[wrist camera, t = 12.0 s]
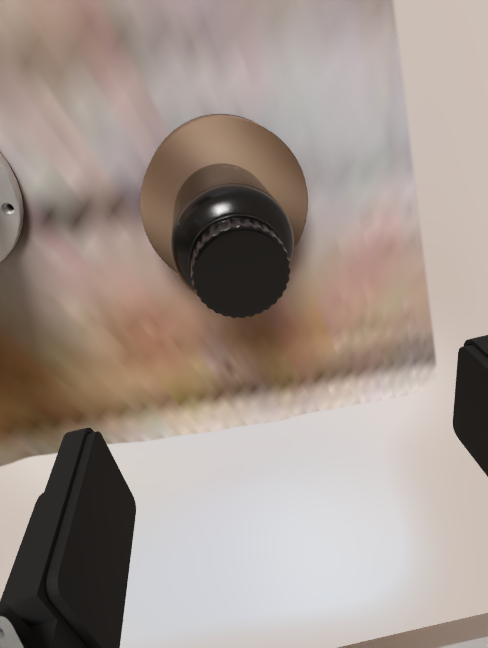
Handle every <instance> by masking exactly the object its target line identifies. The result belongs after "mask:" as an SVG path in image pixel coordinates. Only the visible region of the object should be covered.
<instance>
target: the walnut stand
mask: <svg viewBox="0 0 488 648" xmlns="http://www.w3.org/2000/svg"><path fill="white" fill-rule="evenodd" d="M219 163H226V164H232V165H236V166H239V167H241V168H244V169H245V170H247V171H249V172H250V173H251V174H253V175H254V176H255V177H256V178H257V179H258V180H259V181H260V182H261V183H262V184H263V186H264V187H265V188H266V189H267V190H268V192H269V193H270V194H271V195H272V196H273V197H274V199H275V200H276V201H277V202H278V203H279V205H280V206H281V207H282V209H283V210H284V212H285V213H286V215H287V217H288V219H289V221H290V224H291V227H292V231H293V237H294V247H295V246H296V244H297V242H298V241H299V238H300V236H301V234H302V232H303V228H304V225H305V222H306V216H307V209H308V195H307V187H306V182H305V178H304V175H303V172H302V169H301V167H300V165H299V163H298V161H297V159H296V157H295V156H294V155H293V153H292V152H291V150H290V149H289V148H288V147H287V146H286V144H285V143H284V142H283V141H282V140H281V139H280V138H278V137H277V136H276V135H275V134H273V133H272V132H270V131H269V130H267V129H265V128H264V127H262V126H260V125H259V124H257V123H255V122H253V121H251V120H248V119H246V118H243V117H239V116H235V115H228V114H211V115H206V116H201V117H198V118H195V119H193V120H190V121H188V122H186V123H184V124H183V125H181V126H180V127H178V128H177V129H175V130H174V131H173V132H172V133H171V134H170V135H169V136H168V137H166V138H165V140H164V141H163V142H162V143H161V145H160V146H159V147H158V149H157V151H156V153H155V154H154V156H153V158H152V160H151V162H150V164H149V166H148V169H147V171H146V174H145V176H144V180H143V184H142V189H141V198H140V202H141V216H142V222H143V225H144V228H145V232H146V234H147V236H148V239H149V241H150V243H151V244H152V246H153V248H154V250H155V251H156V252H157V254H158V255H159V256H160V257H161V259H162V260H163V261H164V262H165V263H166V264H167V265H168V266H169V267H171V268H172V269H173V270H175V271H176V272H177V270H176V268H175V265H174V262H173V258H172V251H171V236H172V224H173V213H174V205H175V200H176V197H177V194H178V192H179V190H180V188H181V186H182V185H183V183H184V182H185V181H186V179H187V178H188V177H189V176H190V175H192V174H193V173H194V172H196V171H197V170H199V169H201V168H203V167H205V166H208V165H212V164H219ZM177 273H178V272H177Z"/></svg>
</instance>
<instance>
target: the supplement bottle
mask: <svg viewBox="0 0 488 648" xmlns="http://www.w3.org/2000/svg"><path fill="white" fill-rule="evenodd" d="M293 250H294V237H293V231H292V227H291V224H290V221H289V219H288V217H287V215H286V213H285V212H284V210H283V209H282V207H281V206H280V205H279V203H278V202H277V201H276V200H275V199H274V197H273V196H272V195H271V194H270V193H269V192H268V190H267V189H266V188H265V187H264V186H263V184H262V183H261V182H260V181H259V180H258V179H257V178H256V177H255V176H254V175H253V174H251V173H250V172H249V171H247V170H245V169H244V168H241V167H239V166H236V165H232V164H226V163H219V164H212V165H208V166H205V167H203V168H201V169H199V170H197V171H196V172H194V173H193V174H192V175H190V176H189V177H188V178H187V179H186V181H185V182H184V183H183V185H182V186H181V188H180V190H179V192H178V194H177V197H176V200H175V205H174V213H173V224H172V236H171V251H172V258H173V262H174V265H175V268H176V270H177V272H178V274H179V276H180V278H181V279H182V280H183V282H184V283H185V284H186V285H187V286H188V288H189V289H191V290H192V291H193V292H194V293H196V294H197V295H198V296H199V297H200V298H201V301H202V302H203V303H205V304H206V305H207V307H208V308H209V309H213V310H214V311H215V312H216V313H220V314H222V315H223V316H231V317H232V318H236V317H240V318H244V317H246V316H253V315H255V314H260V313H261V312H263V311H264V310H267V309H269V308H270V306H271V305H273V304H275V303H276V302H277V300H278V299H279V298H280V297H281V296H282V294H283V291H284V290H285V289H286V284H287V283H288V281H289V276H288V275H289V273H290V267H289V266H290V264H291V260H292V257H293Z"/></svg>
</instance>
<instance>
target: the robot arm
mask: <svg viewBox="0 0 488 648" xmlns="http://www.w3.org/2000/svg"><path fill="white" fill-rule="evenodd" d="M9 204H11V205H12V206H13V207H14V209H11V208H10V207H9ZM23 215H24V209H23V202H22V195H21V192H20V189H19V186H18V183H17V180H16V177H15V176H14V174H13V172H12V170H11V168H10V166H9V164H8V162H7V161H6V160H5V158H4V157H3V156H2V154H1V153H0V262H1V261H2V260H4V259H5V257H6V256H7V255H8V254H9V253H10V252H11V251H12V250H13V248H14V246H15V245H16V243H17V241H18V240H19V236H20V233H21V230H22V227H23ZM453 428H454V431H455V433H456V435H457V437H458V438H459V440H460V441H461V442H462V444H463V445H464V446H465V447H466V449H467V450H468V451H469V453H470V454H471V455H472V457H473V458H474V459H475V461H476V462H477V463H478V464H479V466H480V467H481V468H482V469H483V471H484V472H485V473H486V475H487V476H488V335H486V336H482V337H477V338H473V339H469V340H466V342H465V343H464V347H461V348H460V349H459V352H458V364H457V377H456V389H455V403H454V416H453ZM135 514H136V505H135V500H134V497H133V495H132V493H131V491H130V489H129V487H128V485H127V484H126V482H125V480H124V478H123V476H122V474H121V472H120V470H119V468H118V466H117V464H116V462H115V460H114V458H113V456H112V454H111V452H110V450H109V448H108V446H107V444H106V442H105V441H104V439H103V437H102V435H101V433H100V432H94V431H93V430H92V429H91V428H85V429H81V430H76V431H72V432H68V433H66V434H65V436H64V437H63V440H62V443H61V446H60V449H59V452H58V455H57V457H56V460H55V463H54V466H53V469H52V472H51V474H50V478H49V480H48V483H47V486H46V489H45V492H44V493H42V494H41V495H40V496H39V498H38V500H37V502H36V504H35V507H34V510H33V512H32V515H31V518H30V521H29V524H28V526H27V529H26V532H25V535H24V537H23V540H22V543H21V545H20V548H19V551H18V554H17V556H16V559H15V562H14V565H13V568H12V570H11V573H10V576H9V578H8V581H7V584H6V587H5V590H4V592H3V595H2V598H1V601H0V648H119V647H120V639H121V630H122V622H123V614H124V606H125V597H126V589H127V581H128V573H129V563H130V556H131V548H132V540H133V531H134V523H135ZM339 648H488V613H486V614H481V615H477V616H472V617H468V618H464V619H459V620H455V621H451V622H446V623H442V624H437V625H433V626H429V627H424V628H420V629H416V630H412V631H407V632H403V633H399V634H394V635H390V636H386V637H382V638H377V639H373V640H369V641H364V642H360V643H356V644H352V645H348V646H343V647H339Z"/></svg>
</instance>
